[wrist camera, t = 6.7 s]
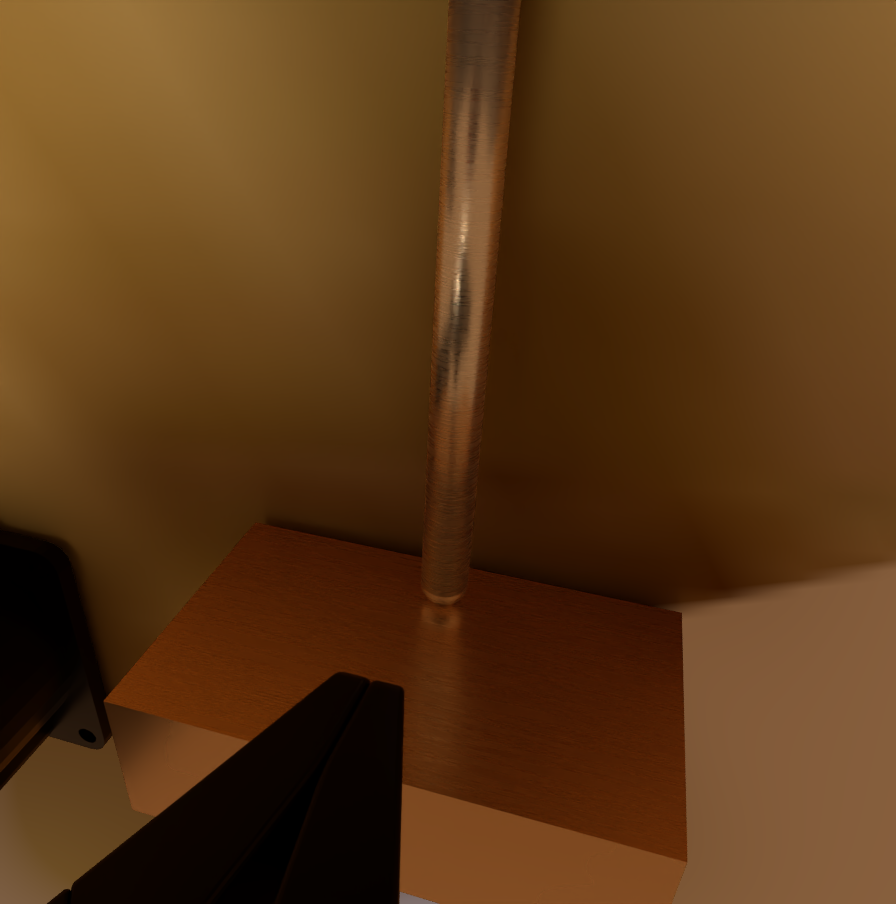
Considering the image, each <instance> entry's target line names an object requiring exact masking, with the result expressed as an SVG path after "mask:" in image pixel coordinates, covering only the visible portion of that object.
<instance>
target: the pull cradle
mask: <svg viewBox="0 0 896 904" xmlns="http://www.w3.org/2000/svg"><path fill="white" fill-rule="evenodd" d="M520 6H521V0H449V7H448V28H447V48H446V69H445V90H444V111H443V132H442V153H441V173H440V194H439V215H438V236H437V257H436V278H435V298H434V319H433V340H432V361H431V382H430V403H429V423H428V444H427V465H426V486H425V507H424V528H423V548H422V558H421V557H416V556H411V555H407V554H402V553H397V552H393V551H388V550H383V549H379V548H374V547H369V546H364V545H360V544H355V543H350V542H346V541H341V540H336V539H331V538H327V537H322V536H317V535H313V534H308V533H303V532H299V531H294V530H289V529H284V528H280V527H275V526H270V525H266V524H261V523H256V522H255V524H254V525H253V526H252V527H251V528H250V529H249V531H248V532H247V533H246V534H245V535H244V537H243V538H242V539H241V540H240V541H239V542H238V544H237V545H236V546H235V547H234V548H233V549H232V551H231V552H230V553H229V554H228V555H227V557H226V558H225V559H224V560H223V561H222V562H221V564H220V565H219V566H218V567H217V568H216V569H215V571H214V572H213V573H212V574H211V575H210V576H209V578H208V579H207V580H206V581H205V582H204V584H203V585H202V586H201V587H200V588H199V589H198V591H197V592H196V593H195V594H194V595H193V596H192V598H191V599H190V600H189V601H188V602H187V604H186V605H185V606H184V607H183V608H182V609H181V611H180V612H179V613H178V614H177V615H176V616H175V618H174V619H173V620H172V621H171V622H170V624H169V625H168V626H167V627H166V628H165V629H164V631H163V632H162V633H161V634H160V635H159V636H158V638H157V639H156V640H155V641H154V642H153V643H152V645H151V646H150V647H149V648H148V649H147V651H146V652H145V653H144V654H143V655H142V656H141V658H140V659H139V660H138V661H137V662H136V663H135V665H134V666H133V667H132V668H131V669H130V671H129V672H128V673H127V674H126V675H125V676H124V678H123V679H122V680H121V681H120V682H119V683H118V685H117V686H116V687H115V688H114V689H113V690H112V692H111V693H110V694H109V695H108V696H107V698H106V699H105V700H104V701H103V702H104V705H105V709H106V713H107V716H108V720H109V724H110V728H111V731H112V735H113V739H114V743H115V746H116V750H117V753H118V757H119V761H120V765H121V769H122V772H123V776H124V780H125V784H126V787H127V791H128V795H129V798H130V802H131V806H132V809H133V810H136V811H139V812H142V813H145V814H149V815H152V816H155V817H156V816H157V815H159V814H160V813H161V812H162V811H164V810H165V809H166V808H167V807H169V806H170V805H171V804H172V803H174V802H175V801H176V800H177V799H179V798H180V797H181V796H182V795H184V794H185V793H186V792H187V791H189V790H190V789H191V788H192V787H194V786H195V785H196V784H197V783H198V782H200V781H201V780H202V779H203V778H205V777H206V776H207V775H208V774H210V773H211V772H212V771H213V770H215V769H216V768H217V767H218V766H220V765H221V764H222V763H223V762H225V761H226V760H227V759H228V758H230V757H231V756H232V755H233V754H235V753H236V752H237V751H238V750H240V749H241V748H242V747H243V746H245V745H246V744H247V743H248V742H250V741H251V740H252V739H253V738H255V737H256V736H257V735H258V734H260V733H261V732H262V731H263V730H265V729H266V728H267V727H268V726H270V725H271V724H272V723H273V722H275V721H276V720H277V719H278V718H280V717H281V716H282V715H283V714H285V713H286V712H287V711H288V710H290V709H291V708H292V707H293V706H295V705H296V704H297V703H298V702H300V701H301V700H302V699H303V698H305V697H306V696H307V695H308V694H309V693H311V692H312V691H313V690H314V689H316V688H317V687H318V686H319V685H321V684H322V683H323V682H324V681H326V680H327V679H328V678H329V677H331V676H332V675H333V674H335V673H338V672H347V673H351V674H355V675H359V676H363V677H366V678H368V679H369V680H370V682H372V681H375V680H379V681H383V682H387V683H391V684H395V685H399V686H401V687H403V689H404V692H405V697H404V737H403V777H402V817H401V858H400V892H403V893H406V894H410V895H413V896H416V897H419V898H423V899H426V900H429V901H432V902H436V903H439V904H672V901H673V898H674V896H675V893H676V890H677V888H678V885H679V883H680V880H681V878H682V875H683V873H684V870H685V867H686V865H687V827H686V826H687V822H686V782H685V780H686V779H685V736H684V735H685V734H684V693H683V692H684V691H683V652H682V651H683V650H682V649H683V648H682V613H680V612H675V611H670V610H666V609H661V608H656V607H651V606H647V605H642V604H637V603H633V602H628V601H623V600H618V599H614V598H609V597H604V596H600V595H595V594H590V593H586V592H581V591H576V590H571V589H567V588H562V587H557V586H553V585H548V584H543V583H538V582H534V581H529V580H524V579H520V578H515V577H510V576H506V575H501V574H496V573H491V572H487V571H482V570H477V569H473V568H470V557H471V546H472V535H473V524H474V513H475V502H476V491H477V480H478V469H479V458H480V447H481V436H482V425H483V414H484V403H485V391H486V380H487V369H488V358H489V347H490V336H491V325H492V314H493V303H494V292H495V281H496V270H497V259H498V248H499V237H500V226H501V215H502V204H503V193H504V182H505V171H506V160H507V149H508V138H509V127H510V116H511V105H512V94H513V83H514V72H515V61H516V50H517V39H518V28H519V17H520Z"/></svg>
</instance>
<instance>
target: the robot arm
mask: <svg viewBox="0 0 896 904" xmlns="http://www.w3.org/2000/svg"><path fill="white" fill-rule="evenodd" d="M404 697H405V692H404V689H403V687H401V686H399V685H395V684H391V683H387V682H383V681H379V680H375V681H372V682H370V680H369V679H368V678H366V677H363V676H359V675H355V674H351V673H347V672H338V673H335V674H333V675H332V676H331V677H329V678H328V679H327V680H326V681H324V682H323V683H322V684H321V685H319V686H318V687H317V688H316V689H314V690H313V691H312V692H311V693H309V694H308V695H307V696H306V697H305V698H303V699H302V700H301V701H300V702H298V703H297V704H296V705H295V706H293V707H292V708H291V709H290V710H288V711H287V712H286V713H285V714H283V715H282V716H281V717H280V718H278V719H277V720H276V721H275V722H273V723H272V724H271V725H270V726H268V727H267V728H266V729H265V730H263V731H262V732H261V733H260V734H258V735H257V736H256V737H255V738H253V739H252V740H251V741H250V742H248V743H247V744H246V745H245V746H243V747H242V748H241V749H240V750H238V751H237V752H236V753H235V754H233V755H232V756H231V757H230V758H228V759H227V760H226V761H225V762H223V763H222V764H221V765H220V766H218V767H217V768H216V769H215V770H213V771H212V772H211V773H210V774H208V775H207V776H206V777H205V778H203V779H202V780H201V781H200V782H198V783H197V784H196V785H195V786H194V787H192V788H191V789H190V790H189V791H187V792H186V793H185V794H184V795H182V796H181V797H180V798H179V799H177V800H176V801H175V802H174V803H172V804H171V805H170V806H169V807H167V808H166V809H165V810H164V811H162V812H161V813H160V814H159V815H157V816H156V817H155V818H154V819H152V820H151V821H150V822H149V823H147V824H146V825H145V826H144V827H142V828H141V829H140V830H139V831H137V832H136V833H135V834H134V835H132V836H131V837H130V838H129V839H127V840H126V841H125V842H124V843H122V844H121V845H120V846H119V847H118V848H116V849H115V850H114V851H113V852H111V853H110V854H109V855H107V856H106V857H105V858H104V859H103V860H101V861H100V862H99V863H97V864H96V865H95V866H94V867H92V868H91V869H90V870H89V871H87V872H86V873H85V874H84V875H83V876H81V877H80V878H79V879H78V880H76V881H75V882H74V883H73V885H72V888H71V891H70V890H69V889H65V890H63V891H62V892H61V893H59V894H58V895H57V896H56V897H55V898H53V899H52V900H51V901H50V902H48V903H47V904H399V897H400V895H399V894H400V858H401V817H402V777H403V737H404ZM105 699H106V695H105V691H104V687H103V683H102V680H101V676H100V672H99V668H98V665H97V661H96V657H95V653H94V649H93V646H92V642H91V638H90V634H89V630H88V627H87V623H86V619H85V615H84V612H83V608H82V604H81V600H80V596H79V593H78V589H77V585H76V581H75V577H74V574H73V570H72V566H71V563H70V561H69V558H68V556H67V555H66V554H65V553H64V552H63V550H62V549H60V548H59V547H58V546H56V545H55V544H53V543H50V542H48V541H45V540H40V539H36V538H32V537H27V536H23V535H19V534H14V533H10V532H6V531H2V530H0V790H1V789H2V788H3V786H4V785H5V784H6V783H7V782H8V781H9V780H10V778H12V776H13V775H14V774H15V773H16V772H17V771H18V770H19V769H20V767H21V766H22V765H23V764H24V763H25V762H26V761H27V760H28V758H29V757H30V756H31V755H32V754H33V753H34V752H35V751H36V749H37V748H38V747H39V746H40V745H41V744H42V743H43V741H44V740H45V739H46V738H47V737H48V736H50V737H53V738H57V739H60V740H64V741H67V742H71V743H74V744H78V745H81V746H84V747H88V748H91V749H101V748H103V746H104V745H105V744H106V743H107V741H108V740H109V739H110V738H111V736H112V731H111V728H110V724H109V720H108V716H107V713H106V709H105V705H104V702H103V701H104V700H105Z"/></svg>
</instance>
